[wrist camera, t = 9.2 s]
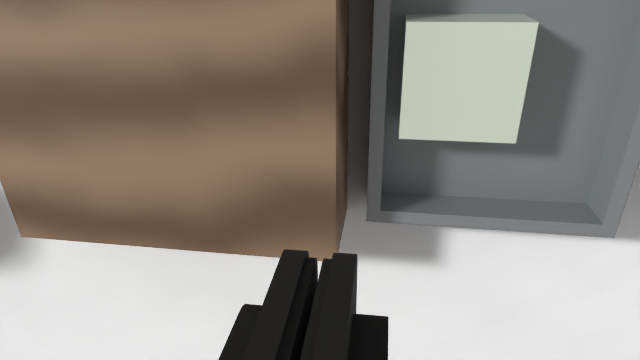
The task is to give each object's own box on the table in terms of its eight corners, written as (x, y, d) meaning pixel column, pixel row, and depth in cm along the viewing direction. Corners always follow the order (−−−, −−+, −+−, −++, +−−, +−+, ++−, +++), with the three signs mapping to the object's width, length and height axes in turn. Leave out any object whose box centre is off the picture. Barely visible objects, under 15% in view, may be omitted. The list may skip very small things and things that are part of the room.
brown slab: (346, 208, 31) (336, 262, 26) (80, 191, 34) (21, 236, 29) (350, -99, 23) (335, -113, 18) (-1, -87, 26) (-104, -96, 21)
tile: (398, 138, 24) (398, 120, 27) (515, 143, 24) (504, 123, 26) (406, 21, 22) (405, 13, 24) (538, 22, 21) (523, 13, 24)
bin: (594, 210, 28) (614, 237, 26) (369, 197, 30) (366, 221, 28) (681, -85, 21) (722, -90, 19) (379, -77, 23) (376, -80, 21)
